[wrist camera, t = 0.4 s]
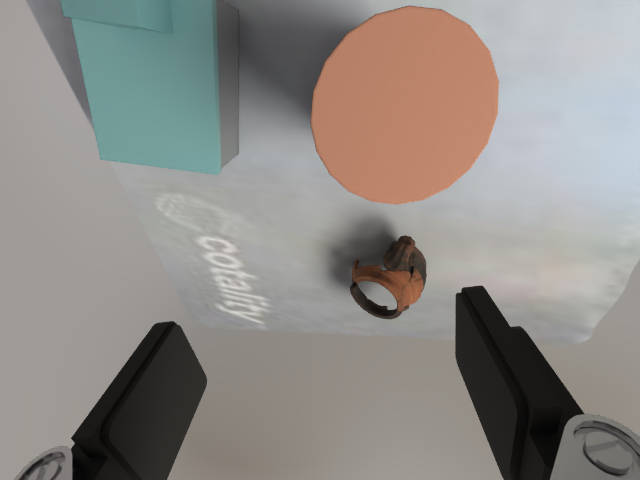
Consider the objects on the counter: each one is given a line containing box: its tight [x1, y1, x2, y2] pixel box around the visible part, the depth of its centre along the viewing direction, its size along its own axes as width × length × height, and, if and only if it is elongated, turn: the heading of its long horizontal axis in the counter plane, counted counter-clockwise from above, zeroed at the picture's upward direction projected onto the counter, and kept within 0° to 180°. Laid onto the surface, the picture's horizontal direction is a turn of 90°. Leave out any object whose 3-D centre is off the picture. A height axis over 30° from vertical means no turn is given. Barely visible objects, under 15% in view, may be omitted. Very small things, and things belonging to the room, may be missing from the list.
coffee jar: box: [310, 6, 499, 204], centre depth 26 cm, size 11×11×18 cm
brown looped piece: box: [350, 236, 426, 319], centre depth 41 cm, size 12×10×8 cm
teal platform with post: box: [60, 0, 221, 175], centre depth 26 cm, size 14×11×8 cm
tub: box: [216, 0, 239, 168], centre depth 31 cm, size 14×11×7 cm
